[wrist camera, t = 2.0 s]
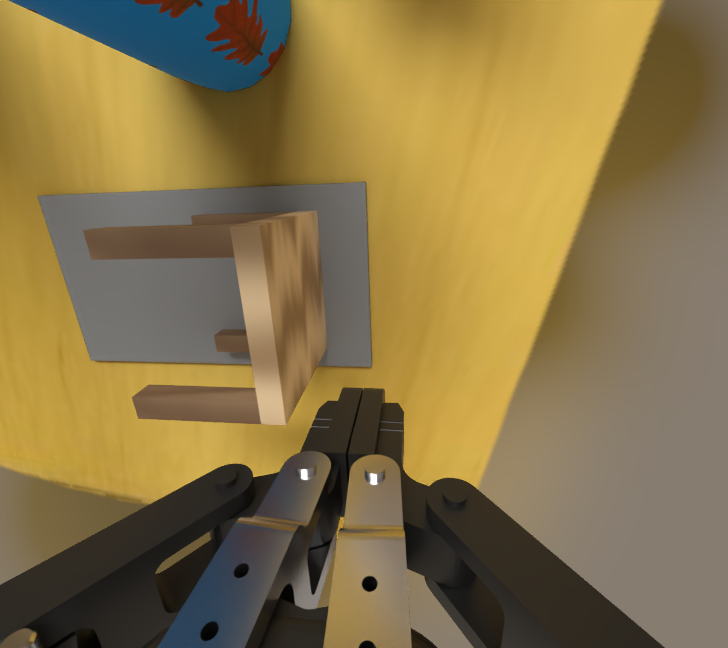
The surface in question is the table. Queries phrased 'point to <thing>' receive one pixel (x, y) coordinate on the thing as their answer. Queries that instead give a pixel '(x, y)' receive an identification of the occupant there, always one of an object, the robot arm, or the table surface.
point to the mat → (204, 273)
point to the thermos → (183, 34)
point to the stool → (260, 307)
